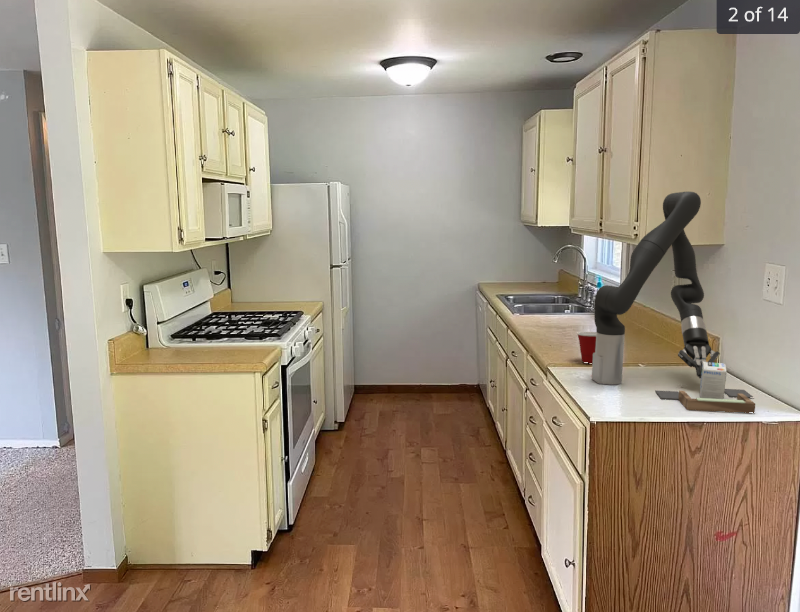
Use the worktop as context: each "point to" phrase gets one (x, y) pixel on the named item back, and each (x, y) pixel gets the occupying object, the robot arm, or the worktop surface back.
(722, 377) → the light bulb box
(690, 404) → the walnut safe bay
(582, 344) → the plastic cup
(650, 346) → the worktop surface
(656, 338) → the worktop surface
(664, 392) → the pads
